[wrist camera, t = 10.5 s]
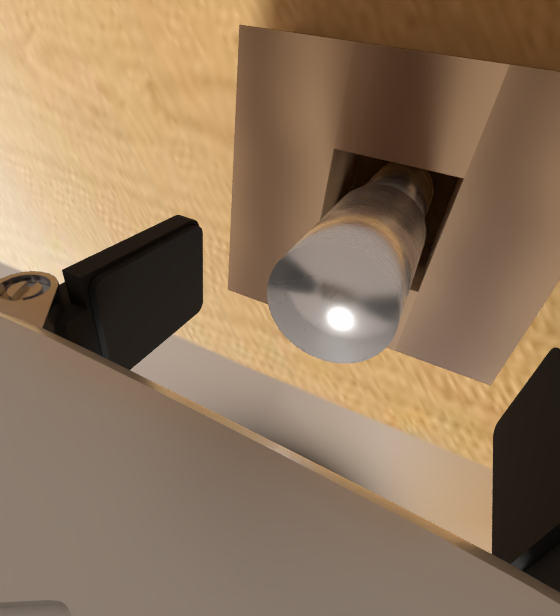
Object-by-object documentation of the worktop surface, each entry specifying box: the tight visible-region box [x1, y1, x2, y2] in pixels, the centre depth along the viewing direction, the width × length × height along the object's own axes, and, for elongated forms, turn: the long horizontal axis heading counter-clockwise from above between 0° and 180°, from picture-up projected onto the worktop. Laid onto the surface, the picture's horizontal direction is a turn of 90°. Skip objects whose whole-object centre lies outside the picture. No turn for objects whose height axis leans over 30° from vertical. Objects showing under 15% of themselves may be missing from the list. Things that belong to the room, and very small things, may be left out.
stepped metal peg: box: [267, 162, 434, 363], centre depth 15 cm, size 4×4×12 cm
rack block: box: [228, 25, 560, 385], centre depth 18 cm, size 14×12×5 cm
